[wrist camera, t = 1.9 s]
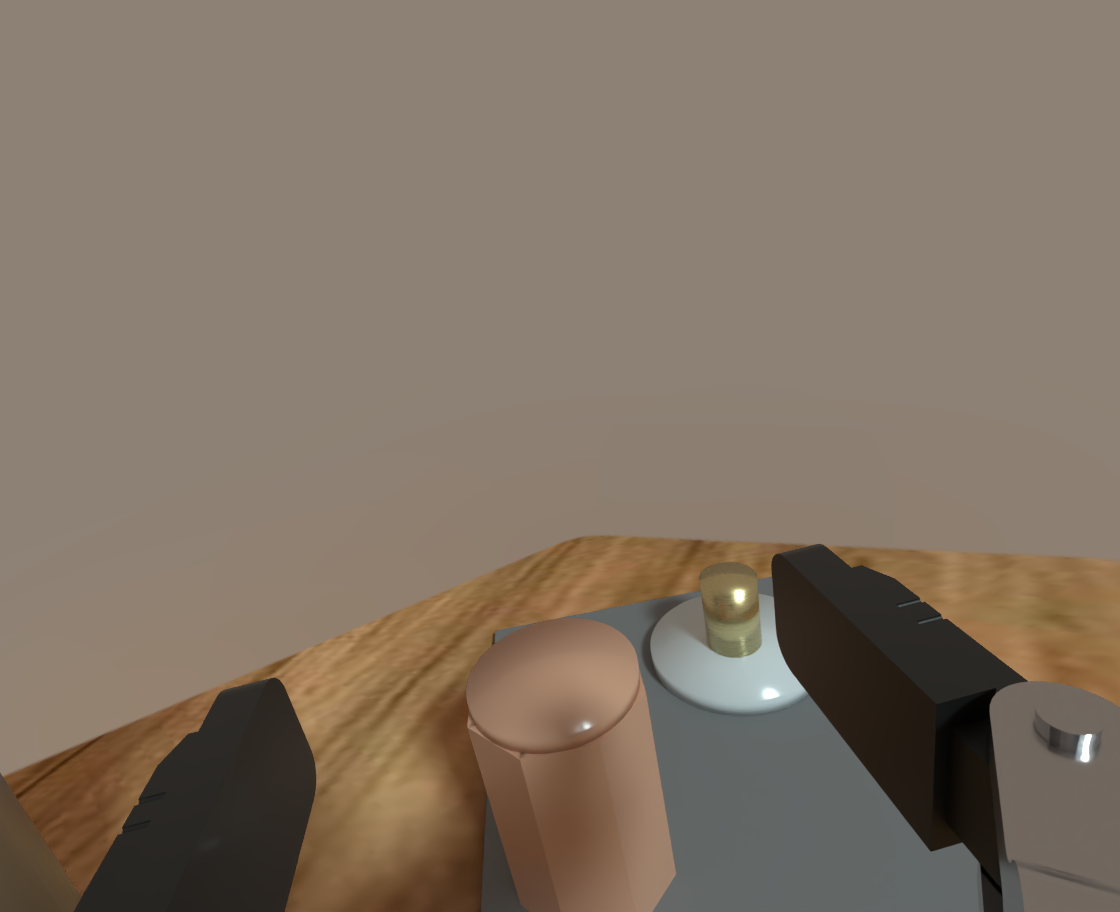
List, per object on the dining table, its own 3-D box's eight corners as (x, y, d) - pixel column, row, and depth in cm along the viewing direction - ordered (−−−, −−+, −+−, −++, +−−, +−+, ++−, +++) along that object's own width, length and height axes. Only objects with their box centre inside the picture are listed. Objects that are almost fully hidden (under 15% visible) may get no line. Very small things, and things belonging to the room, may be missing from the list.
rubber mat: (477, 1060, 22) (473, 1050, 21) (497, 637, 44) (495, 630, 44) (1038, 951, 22) (1040, 939, 21) (772, 583, 44) (771, 576, 44)
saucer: (674, 732, 33) (671, 717, 32) (638, 620, 42) (636, 608, 42) (859, 695, 33) (859, 680, 32) (783, 592, 42) (782, 579, 42)
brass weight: (715, 662, 36) (708, 597, 34) (700, 628, 39) (692, 568, 37) (770, 651, 36) (765, 586, 34) (750, 618, 39) (745, 558, 37)
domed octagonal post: (520, 955, 24) (458, 757, 20) (519, 806, 30) (471, 634, 27) (688, 922, 24) (655, 719, 20) (652, 780, 30) (622, 605, 27)
